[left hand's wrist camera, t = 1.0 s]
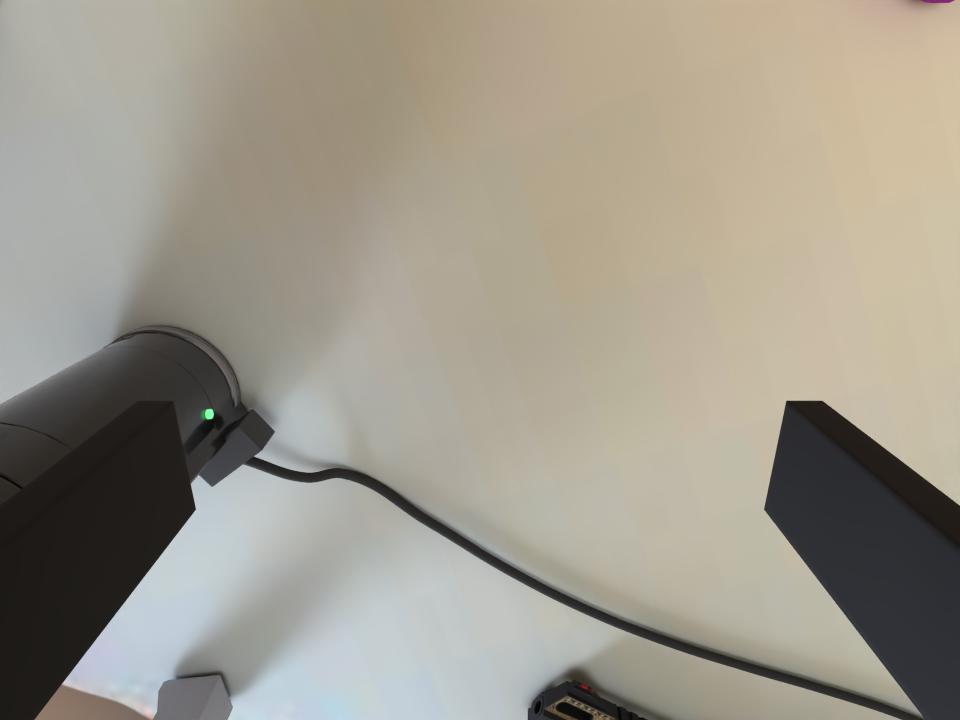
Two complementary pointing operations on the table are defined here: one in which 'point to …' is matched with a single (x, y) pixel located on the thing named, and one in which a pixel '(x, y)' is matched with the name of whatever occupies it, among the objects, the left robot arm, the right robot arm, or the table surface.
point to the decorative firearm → (576, 705)
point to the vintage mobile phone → (193, 699)
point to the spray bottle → (938, 1)
